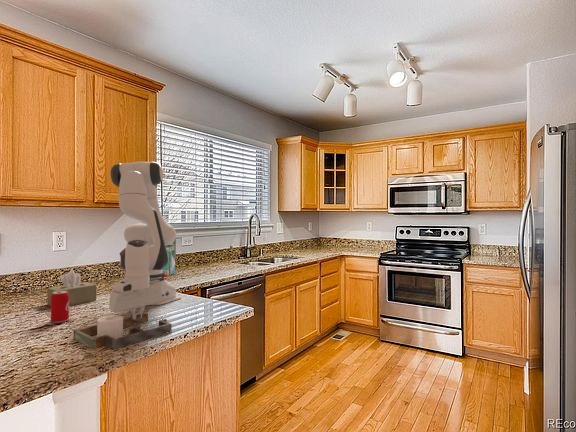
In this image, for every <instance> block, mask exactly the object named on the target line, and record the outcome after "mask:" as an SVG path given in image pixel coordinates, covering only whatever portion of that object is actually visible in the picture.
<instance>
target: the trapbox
mask: <svg viewBox="0 0 576 432" xmlns="http://www.w3.org/2000/svg"><path fill="white" fill-rule="evenodd" d="M148 320H149V312H145V313H144V312H143V313H142V318H138V319H135V320H134V319H133V315H132V316H128V317H127V316H126V317H123V328H125V327H128V326H131V325H132V327H131V328H128V335H123V337H120V338H116V339H115V338H113V337H110V336H108V335H104V336H100V337H97V336H96V337H93V335H97V324H95V325H90V326H86V327H82V328H77V329H74V330H73V340H75V341H77V342H79V343H81V344H83V345H84V346H87V347H88V348H90V349H92V350H93V349H96V348H99V347H103V346H106V347H108V348H110V349H112V350H116V349H120V348H122V347H125V346H129V345H133V344H136V343H140V342H142V341H146V340H149V339H152V337H153V338H155V336H156V337H159V336H162V335H165V334H164V333H166V334H168V333H167V332H169V333H171V332H170V331H172V325H173V324H172V323H170V322H167V321H168V320H167V318H163V319H160V320H158V323H157V325H158V326H155V327H152V328H148V329H141V328H142V327H141V326H140V325H138V326H134V327H133V325H135V324H139V323H143V322H147V321H148ZM161 334H162V335H161ZM158 335H159V336H158Z"/></svg>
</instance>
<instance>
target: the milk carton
mask: <svg viewBox="0 0 576 432" xmlns="http://www.w3.org/2000/svg"><path fill="white" fill-rule="evenodd" d="M176 240H177V239H175V241H174V242H173V243H172V244H171V245H166V246H165V247H166V250H167V253H168V264H167V265H166V266H165V267H164V268H163V269H162V273H164V274H165V273H166V274H169V276H172V275H174V274H176V256H177V255H176V254H177V252H176V247H177V245H176V244H177V241H176ZM173 273H174V274H173ZM171 274H172V275H171Z"/></svg>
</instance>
